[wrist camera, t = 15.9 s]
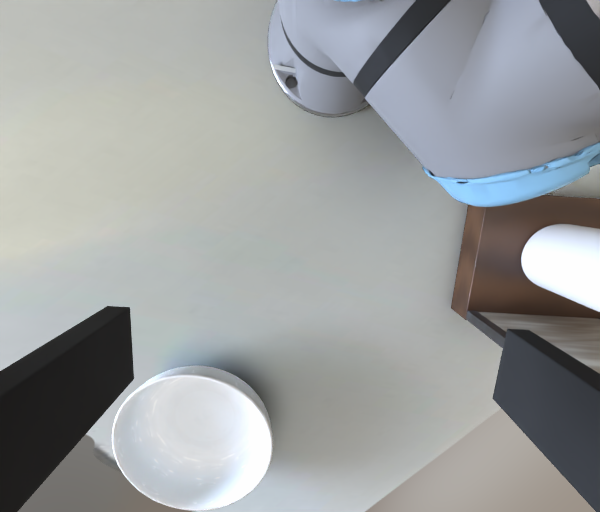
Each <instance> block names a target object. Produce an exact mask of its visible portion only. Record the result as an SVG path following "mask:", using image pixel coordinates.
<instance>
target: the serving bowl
mask: <svg viewBox="0 0 600 512" xmlns="http://www.w3.org/2000/svg"><path fill="white" fill-rule="evenodd" d="M112 446H113V451H114V455H115V458H116V461H117V463H118V466H119V467H120V469H121V471H122V472H123V474H124V475H125V477H126V478H127V479H128V480H129V482H131V484H132V485H133V486H134V487H135V488H137V489H138V490H139V491H140V492H141V493H143V494H145V495H146V496H147V497H149V498H151V499H152V500H154V501H156V502H159V503H161V504H164V505H167V506H170V507H173V508H178V509H183V510H191V511H204V510H212V509H217V508H221V507H224V506H227V505H230V504H232V503H235V502H237V501H238V500H240V499H242V498H244V497H245V496H246V495H248V494H249V493H250V492H252V491H253V490H254V489H255V488H256V487H257V486H258V484H259V483H260V482H261V481H262V479H263V478H264V476H265V474H266V473H267V471H268V468H269V466H270V463H271V459H272V454H273V435H272V427H271V422H270V419H269V415H268V413H267V410H266V408H265V406H264V404H263V402H262V401H261V399H260V398H259V396H258V395H257V394H256V392H255V391H254V390H253V389H252V388H251V387H250V386H249V385H248V384H247V383H245V382H244V381H243V380H241V379H240V378H238V377H237V376H235V375H233V374H231V373H229V372H227V371H224V370H221V369H218V368H214V367H208V366H185V367H179V368H175V369H171V370H168V371H166V372H163V373H161V374H159V375H157V376H155V377H153V378H151V379H150V380H148V381H147V382H145V383H144V384H143V385H141V386H140V387H139V388H138V389H137V390H135V391H134V392H133V393H132V394H131V395H130V396H129V397H128V398H127V399H126V400H125V402H124V403H123V404H122V406H121V407H120V409H119V411H118V413H117V415H116V418H115V421H114V424H113V429H112Z"/></svg>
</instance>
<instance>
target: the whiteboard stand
mask: <svg viewBox="0 0 600 512" xmlns="http://www.w3.org/2000/svg"><path fill="white" fill-rule="evenodd" d="M556 224H570V225H577V226H583V227H590V228H597V229H600V199H597V198H580V197H563V196H547V195H541V196H539V197H535V198H532V199H529V200H526V201H522V202H518V203H514V204H509V205H503V206H495V207H476V206H472V205H468V210H467V216H466V222H465V228H464V234H463V240H462V246H461V252H460V258H459V264H458V270H457V276H456V282H455V288H454V294H453V300H452V306H451V308H452V309H453V310H454V311H455V312H457V313H458V314H459V315H460V316H462V317H463V318H464V319H465V320H468V321H469V322H470V323H472V324H473V325H474V326H475V327H477V328H478V329H479V330H480V331H482V332H483V333H484V334H485V335H487V336H488V337H489V338H490V339H492V340H493V341H494V342H496V343H497V344H498V345H499V346H501V347H502V348H503V347H504V342H505V337H506V332H507V329H523V330H530V331H532V332H533V333H535V334H537V335H538V336H540V337H541V338H543V339H545V340H546V341H548V342H549V343H551V344H553V345H554V346H556V347H558V348H559V349H561V350H562V351H564V352H566V353H567V354H569V355H570V356H572V357H574V358H575V359H577V360H579V361H580V362H582V363H583V364H585V365H587V366H588V367H590V368H591V369H593V370H595V371H596V372H598V373H599V374H600V312H598V311H596V310H593V309H591V308H589V307H586V306H584V305H582V304H579V303H577V302H575V301H572V300H570V299H568V298H565V297H563V296H561V295H558V294H556V293H554V292H551V291H549V290H547V289H544V288H542V287H540V286H538V285H536V284H535V283H533V282H532V281H531V280H529V279H528V277H527V276H526V275H525V273H524V271H523V268H522V264H521V257H522V252H523V249H524V247H525V245H526V243H527V241H528V240H529V239H530V238H531V237H532V236H533V235H534V234H535V233H536V232H538V231H539V230H541V229H543V228H545V227H547V226H551V225H556Z"/></svg>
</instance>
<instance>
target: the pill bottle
mask: <svg viewBox="0 0 600 512" xmlns="http://www.w3.org/2000/svg"><path fill="white" fill-rule="evenodd" d="M521 264H522V268H523V271H524V273H525V275H526V276H527V277H528V279H529V280H531V281H532V282H533V283H535V284H536V285H538V286H540V287H542V288H544V289H547V290H549V291H551V292H554V293H556V294H558V295H561V296H563V297H565V298H568V299H570V300H572V301H575V302H577V303H579V304H582V305H584V306H586V307H589V308H591V309H593V310H596V311H598V312H600V229H597V228H590V227H583V226H577V225H570V224H556V225H551V226H547V227H545V228H543V229H541V230H539V231H538V232H536V233H535V234H534V235H533V236H532V237H531V238H530V239H529V240H528V241H527V243H526V245H525V247H524V249H523V252H522V257H521Z"/></svg>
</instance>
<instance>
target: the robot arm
mask: <svg viewBox="0 0 600 512" xmlns="http://www.w3.org/2000/svg"><path fill="white" fill-rule="evenodd" d="M268 53H269V58H270V63H271V66H272V70H273V73H274V75H275V78H276V80H277V82H278V84H279V86H280V87H281V89H282V90H283V92H284V93H285V94H286V95H287V97H288V98H289V99H290V100H291V101H292V102H294V103H295V104H296V105H297V106H299V107H300V108H302V109H304V110H305V111H307V112H310V113H312V114H315V115H319V116H324V117H341V116H346V115H349V114H353V113H355V112H357V111H359V110H361V109H363V108H365V107H366V106H368V105H369V104H370V105H371V106H372V107H373V108H374V110H375V111H376V112H377V113H378V114H379V115H380V117H381V118H382V119H383V120H384V121H385V122H386V124H387V125H388V126H389V127H390V128H391V129H392V130H393V132H394V133H395V134H396V135H397V136H398V137H399V139H400V140H401V141H402V142H403V143H404V144H405V146H406V147H407V148H408V149H409V150H410V151H411V152H412V154H413V155H414V156H415V157H416V158H417V159H418V161H419V162H420V163H421V164H422V165H423V170H424V171H425V173H426V174H427V175H428V176H430V177H431V178H433V179H435V180H437V181H438V182H439V183H440V185H441V186H442V187H443V188H444V189H445V190H446V191H447V192H448V193H449V194H450V195H451V196H452V197H453V198H455V199H456V200H458V201H459V202H462V203H466V204H468V205H472V206H476V207H495V206H503V205H509V204H514V203H518V202H522V201H526V200H529V199H532V198H535V197H539V196H541V195H544V194H547V193H549V192H552V191H554V190H557V189H559V188H561V187H564V186H566V185H568V184H570V183H572V182H574V181H576V180H577V179H579V178H581V177H583V176H585V175H587V174H588V173H589V171H590V167H591V166H594V165H597V164H600V0H277V2H276V4H275V6H274V9H273V12H272V15H271V19H270V23H269V29H268ZM133 379H134V373H133V355H132V338H131V320H130V307H113V306H107V307H105V308H104V309H102V310H100V311H99V312H97V313H95V314H94V315H92V316H91V317H89V318H87V319H86V320H84V321H82V322H81V323H79V324H77V325H76V326H74V327H72V328H71V329H69V330H67V331H66V332H64V333H63V334H61V335H59V336H58V337H56V338H54V339H53V340H51V341H49V342H48V343H46V344H44V345H43V346H41V347H39V348H38V349H36V350H35V351H33V352H31V353H30V354H28V355H26V356H25V357H23V358H21V359H20V360H18V361H16V362H15V363H13V364H12V365H10V366H8V367H7V368H5V369H3V370H2V371H0V512H17V511H18V510H19V509H20V508H21V507H22V506H23V505H24V503H25V502H26V501H27V500H28V499H29V498H30V497H31V496H32V494H33V493H34V492H35V491H36V490H37V489H38V488H39V486H40V485H41V484H42V483H43V482H44V481H45V480H46V478H47V477H48V476H49V475H50V474H51V473H52V471H53V470H54V469H55V468H56V467H57V466H58V465H59V463H60V462H61V461H62V460H63V459H64V458H65V457H66V455H68V453H69V452H70V451H71V450H72V449H73V448H74V446H75V445H76V444H77V443H78V442H79V441H80V440H81V438H82V437H83V436H84V435H85V434H86V433H87V432H88V431H89V429H90V428H91V427H92V426H93V425H94V424H95V423H96V422H97V420H98V419H99V418H100V417H101V416H102V415H103V414H104V412H105V411H106V410H107V409H108V408H109V407H110V406H111V404H112V403H113V402H114V401H115V400H116V399H117V398H118V396H119V395H120V394H121V393H122V392H123V391H124V390H125V388H126V387H127V386H128V385H129V384H130V383H131V382H132V381H133ZM493 399H494V400H495V402H496V403H497V404H498V405H499V406H500V407H501V408H502V409H503V410H504V411H505V412H506V413H507V414H508V416H509V417H510V418H511V419H512V420H513V421H514V422H515V423H516V424H517V426H518V427H519V428H520V429H521V430H522V431H523V432H524V433H525V434H526V435H527V436H528V438H529V439H530V440H531V441H532V442H533V443H534V444H535V445H536V446H537V448H538V449H539V450H540V451H541V452H542V453H543V454H544V455H545V456H546V457H547V458H548V460H549V461H550V462H551V463H552V464H553V465H554V466H555V467H556V468H557V469H558V470H559V472H560V473H561V474H562V475H563V476H564V477H565V478H566V479H567V480H568V481H569V483H570V484H571V485H572V486H573V487H574V488H575V489H576V490H577V491H578V492H579V494H580V495H581V496H582V497H583V498H584V499H585V500H586V501H587V502H588V503H589V504H590V506H591V507H592V508H593V509H594V510H595V511H596V512H600V374H599V373H598V372H596V371H595V370H593V369H591V368H590V367H588V366H587V365H585V364H583V363H582V362H580V361H579V360H577V359H575V358H574V357H572V356H570V355H569V354H567V353H566V352H564V351H562V350H561V349H559V348H558V347H556V346H554V345H553V344H551V343H549V342H548V341H546V340H545V339H543V338H541V337H540V336H538V335H537V334H535V333H533V332H532V331H530V330H523V329H507V332H506V337H505V342H504V347H503V351H502V356H501V361H500V366H499V370H498V375H497V380H496V385H495V390H494V394H493Z"/></svg>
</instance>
